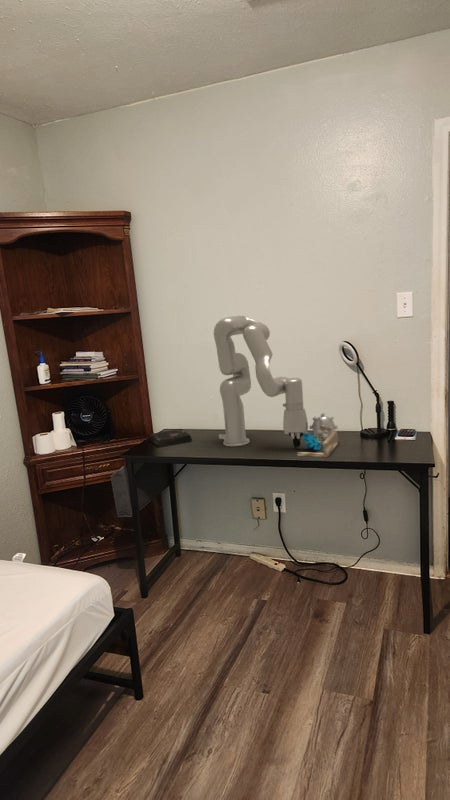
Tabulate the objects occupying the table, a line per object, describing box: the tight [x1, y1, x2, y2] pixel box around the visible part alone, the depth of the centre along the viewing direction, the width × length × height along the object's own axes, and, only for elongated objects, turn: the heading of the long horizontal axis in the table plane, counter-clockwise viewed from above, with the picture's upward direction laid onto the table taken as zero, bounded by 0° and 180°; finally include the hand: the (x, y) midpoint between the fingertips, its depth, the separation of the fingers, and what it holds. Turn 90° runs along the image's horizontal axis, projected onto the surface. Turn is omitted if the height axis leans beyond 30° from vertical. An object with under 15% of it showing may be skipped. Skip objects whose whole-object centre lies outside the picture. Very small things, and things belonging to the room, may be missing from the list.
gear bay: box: [296, 430, 338, 458], centre depth 225 cm, size 13×20×6 cm, turn 156°
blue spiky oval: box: [302, 431, 322, 451], centre depth 227 cm, size 11×6×10 cm
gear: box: [309, 412, 339, 441], centre depth 235 cm, size 12×3×13 cm, turn 66°
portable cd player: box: [149, 428, 193, 448], centre depth 262 cm, size 16×17×4 cm
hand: (296, 446), depth 229 cm, fingers closed
